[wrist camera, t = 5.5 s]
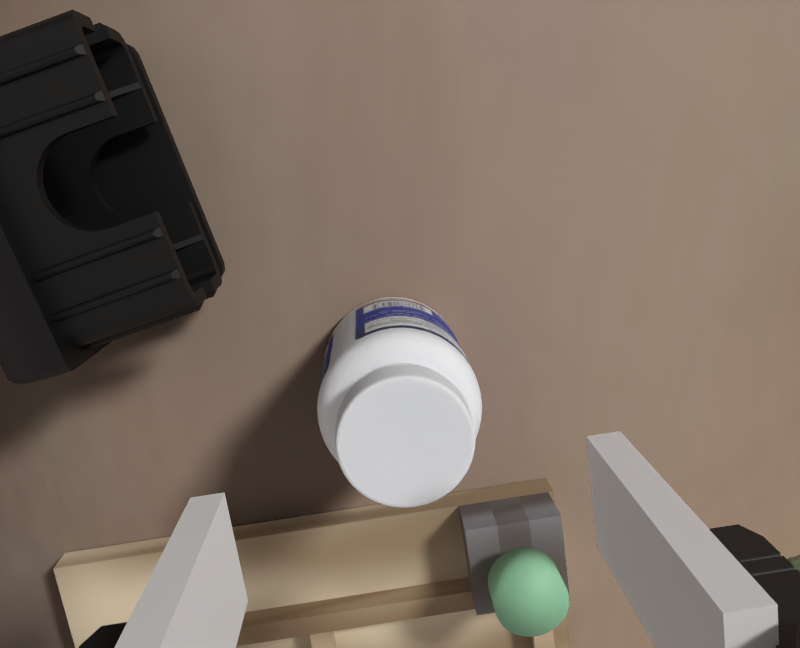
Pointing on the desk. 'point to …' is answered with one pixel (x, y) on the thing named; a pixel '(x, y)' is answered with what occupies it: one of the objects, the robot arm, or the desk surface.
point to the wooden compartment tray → (352, 574)
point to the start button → (527, 592)
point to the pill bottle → (398, 403)
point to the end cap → (89, 201)
